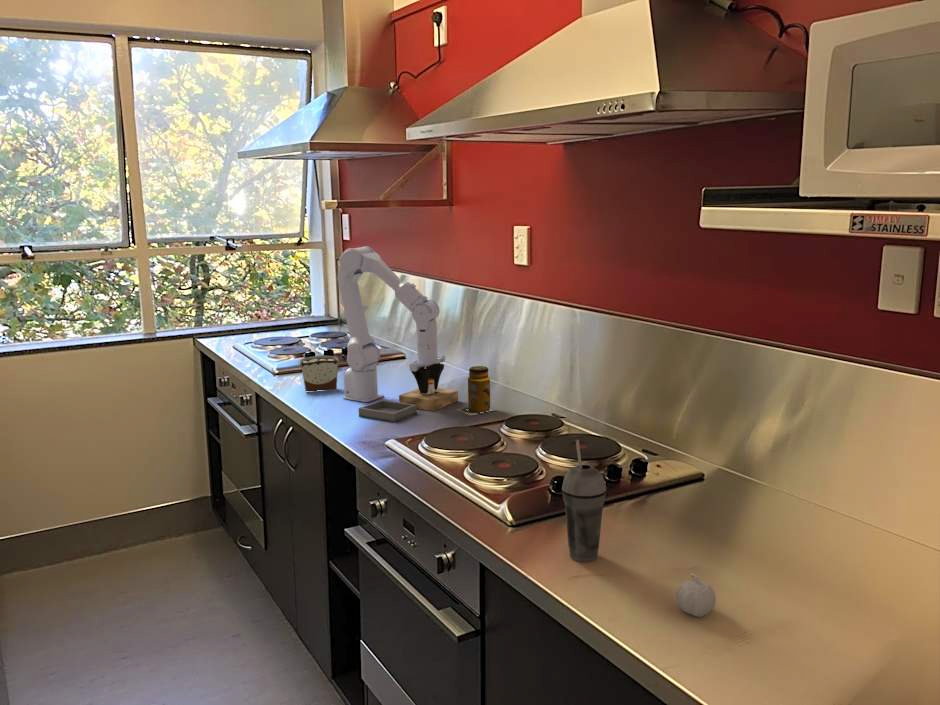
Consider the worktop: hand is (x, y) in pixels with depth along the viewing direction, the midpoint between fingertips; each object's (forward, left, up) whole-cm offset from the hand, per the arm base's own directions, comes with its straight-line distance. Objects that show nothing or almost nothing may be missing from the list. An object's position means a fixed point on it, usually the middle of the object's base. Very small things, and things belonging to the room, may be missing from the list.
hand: (428, 391), depth 229 cm
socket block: (0, 0, -4) cm, 4 cm away
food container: (-40, -2, -4) cm, 40 cm away
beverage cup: (+79, -67, -4) cm, 104 cm away
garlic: (+100, -75, -4) cm, 125 cm away
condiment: (+16, 0, -4) cm, 16 cm away
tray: (-3, -15, -4) cm, 16 cm away
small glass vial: (0, 0, -4) cm, 4 cm away
